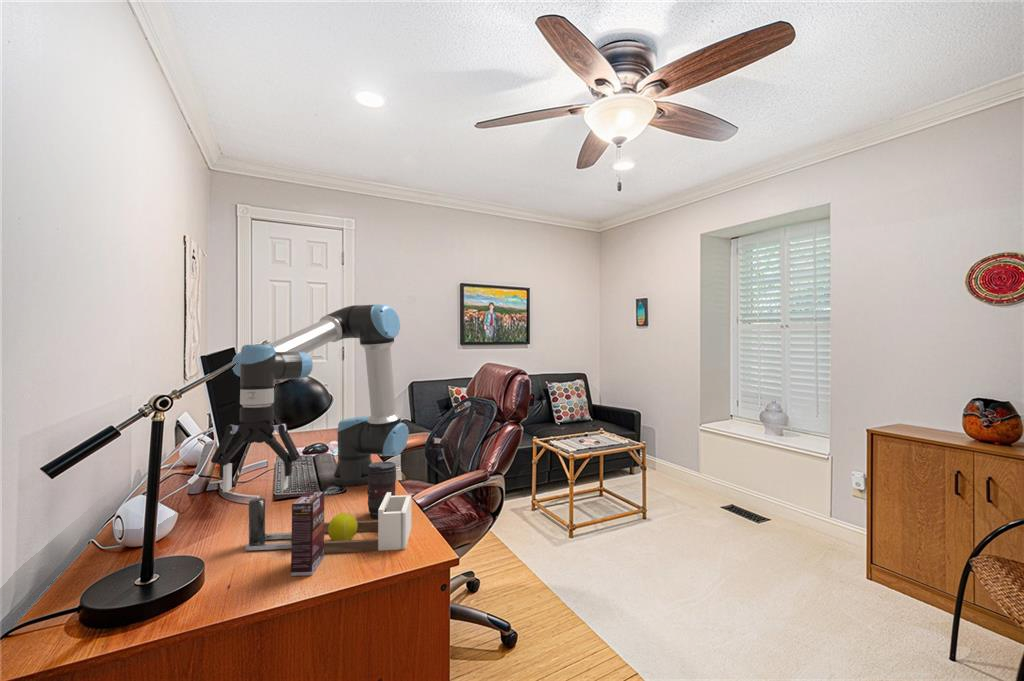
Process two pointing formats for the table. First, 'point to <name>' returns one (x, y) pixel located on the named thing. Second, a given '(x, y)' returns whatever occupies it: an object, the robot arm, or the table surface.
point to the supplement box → (307, 533)
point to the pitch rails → (353, 544)
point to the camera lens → (380, 484)
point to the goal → (394, 522)
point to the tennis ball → (342, 527)
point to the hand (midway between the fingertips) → (256, 489)
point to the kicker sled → (262, 529)
